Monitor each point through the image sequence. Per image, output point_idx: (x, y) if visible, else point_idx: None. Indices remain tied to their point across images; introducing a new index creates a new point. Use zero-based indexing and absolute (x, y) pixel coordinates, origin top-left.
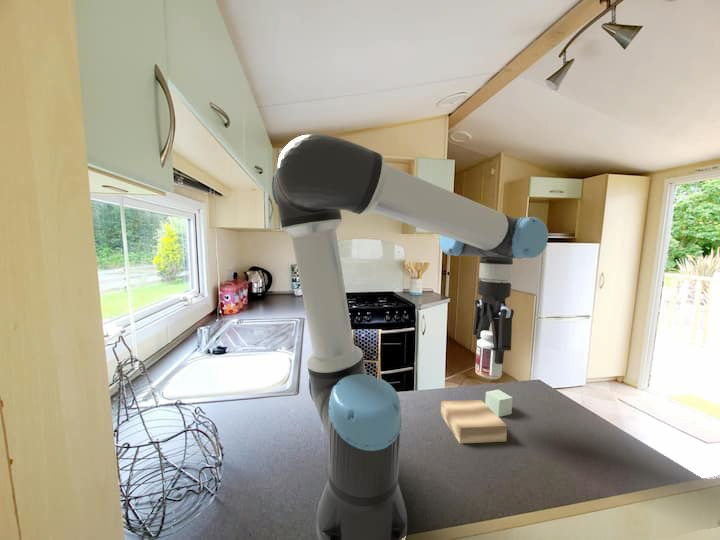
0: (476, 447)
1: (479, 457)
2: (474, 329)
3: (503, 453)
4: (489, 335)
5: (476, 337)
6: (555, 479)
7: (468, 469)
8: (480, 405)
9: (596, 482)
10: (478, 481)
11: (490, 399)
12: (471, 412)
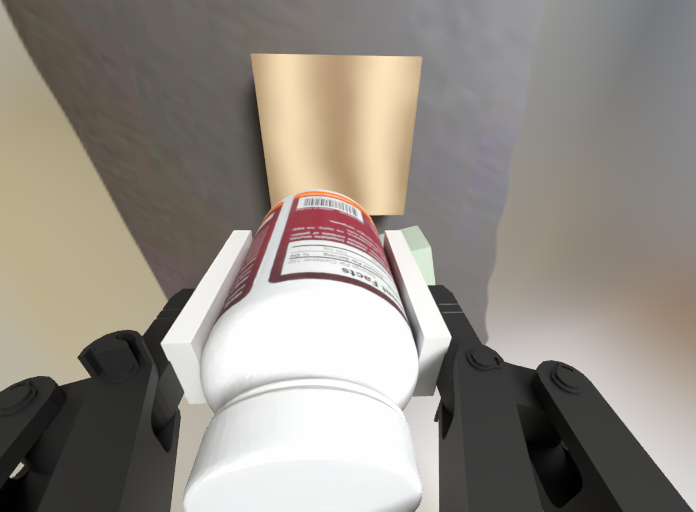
0: (250, 106)
1: (210, 92)
2: (588, 422)
3: (235, 168)
4: (191, 477)
5: (478, 352)
6: (171, 229)
7: (154, 27)
8: (374, 196)
9: (180, 289)
10: (114, 35)
11: (407, 244)
12: (338, 144)
